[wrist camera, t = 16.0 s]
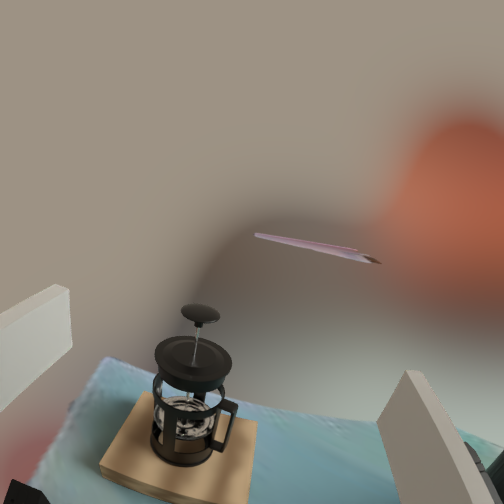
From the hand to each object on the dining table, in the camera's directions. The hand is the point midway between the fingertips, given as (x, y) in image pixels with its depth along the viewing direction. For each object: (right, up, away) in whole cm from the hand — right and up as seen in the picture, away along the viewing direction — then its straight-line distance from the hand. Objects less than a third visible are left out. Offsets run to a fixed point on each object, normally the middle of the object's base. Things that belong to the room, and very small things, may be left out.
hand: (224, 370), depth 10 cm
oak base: (-10, -28, +27) cm, 40 cm away
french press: (-9, -24, +26) cm, 37 cm away
